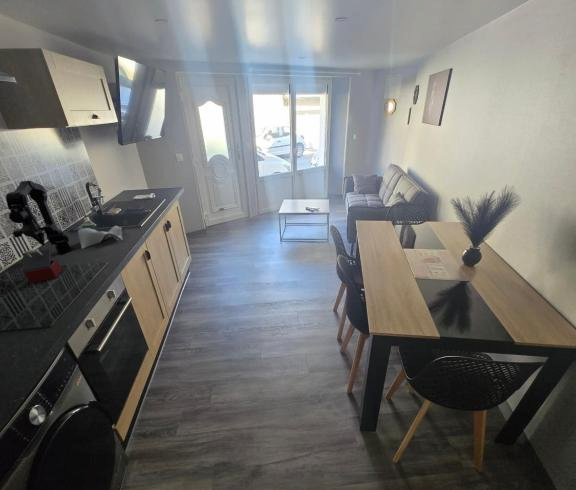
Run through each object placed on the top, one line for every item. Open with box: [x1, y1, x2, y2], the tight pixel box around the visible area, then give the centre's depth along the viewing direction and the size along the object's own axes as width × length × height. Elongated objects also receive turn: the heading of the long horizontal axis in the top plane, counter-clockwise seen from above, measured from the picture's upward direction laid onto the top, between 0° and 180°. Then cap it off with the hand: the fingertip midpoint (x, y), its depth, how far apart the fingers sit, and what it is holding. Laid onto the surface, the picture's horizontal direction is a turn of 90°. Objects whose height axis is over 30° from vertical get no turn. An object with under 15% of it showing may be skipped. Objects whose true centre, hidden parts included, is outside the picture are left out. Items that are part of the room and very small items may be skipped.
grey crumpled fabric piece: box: [77, 225, 126, 250], centre depth 197 cm, size 25×19×10 cm
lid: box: [21, 248, 51, 273], centre depth 153 cm, size 11×12×5 cm
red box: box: [23, 259, 63, 284], centre depth 159 cm, size 10×12×6 cm
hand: (43, 245), depth 165 cm, fingers closed
